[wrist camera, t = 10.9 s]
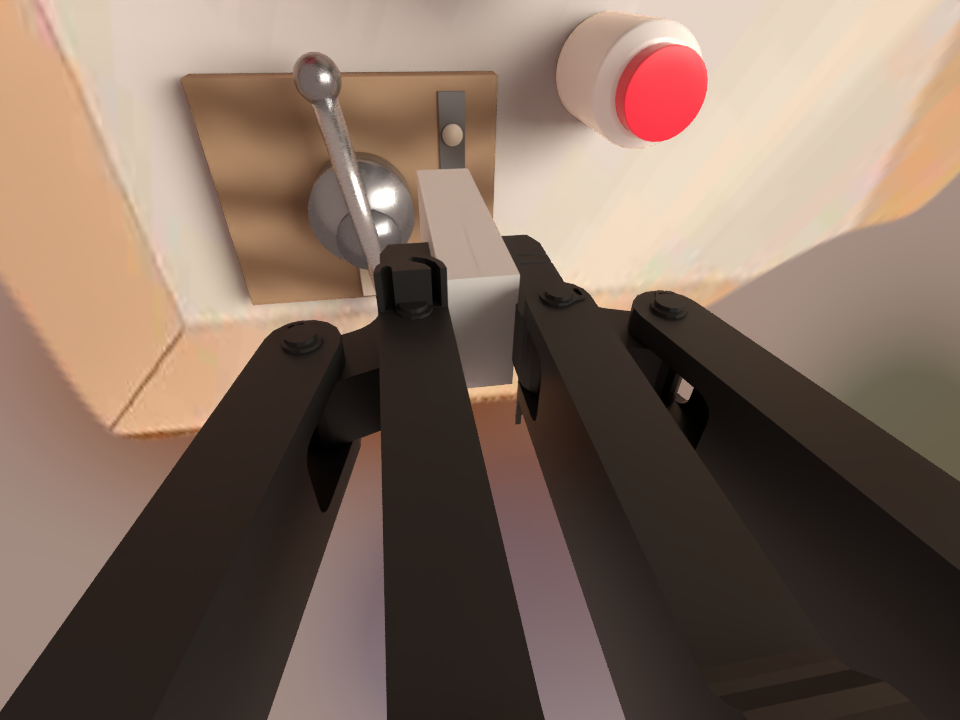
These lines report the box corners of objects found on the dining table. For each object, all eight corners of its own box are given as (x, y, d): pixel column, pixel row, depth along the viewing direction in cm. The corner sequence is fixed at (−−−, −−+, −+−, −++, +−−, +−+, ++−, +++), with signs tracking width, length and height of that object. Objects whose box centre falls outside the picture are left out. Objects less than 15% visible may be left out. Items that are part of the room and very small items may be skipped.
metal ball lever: (255, 58, 33) (240, 69, 29) (371, 34, 33) (371, 42, 30) (356, 321, 47) (355, 350, 43) (438, 303, 47) (443, 330, 44)
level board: (189, 73, 35) (178, 79, 33) (492, 71, 38) (498, 75, 36) (256, 293, 46) (252, 307, 44) (486, 277, 49) (491, 289, 47)
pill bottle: (537, 95, 39) (583, 128, 31) (591, -12, 36) (660, -8, 27) (611, 138, 43) (670, 178, 34) (667, 44, 39) (750, 63, 30)
